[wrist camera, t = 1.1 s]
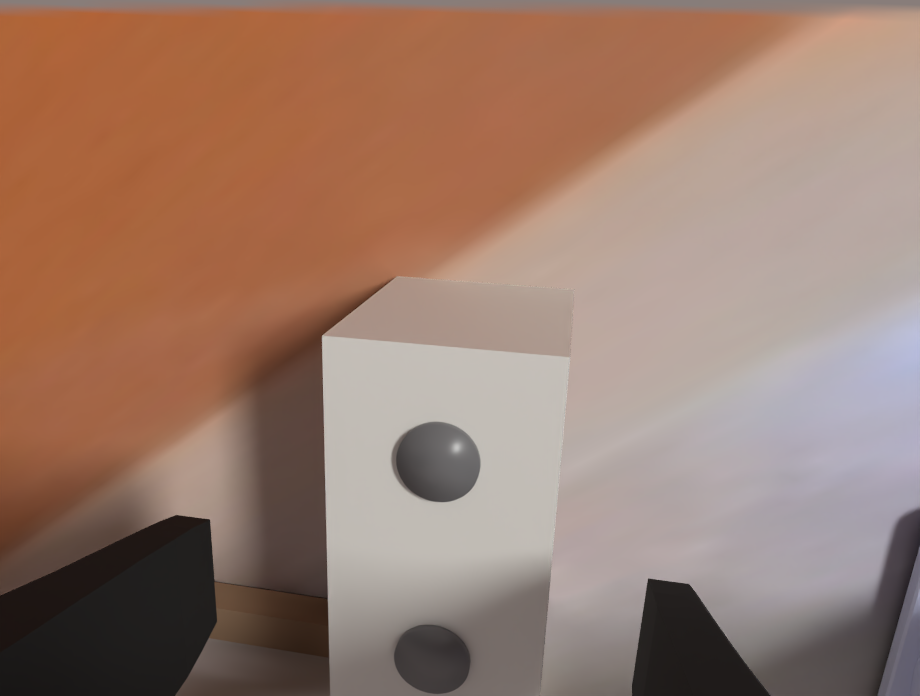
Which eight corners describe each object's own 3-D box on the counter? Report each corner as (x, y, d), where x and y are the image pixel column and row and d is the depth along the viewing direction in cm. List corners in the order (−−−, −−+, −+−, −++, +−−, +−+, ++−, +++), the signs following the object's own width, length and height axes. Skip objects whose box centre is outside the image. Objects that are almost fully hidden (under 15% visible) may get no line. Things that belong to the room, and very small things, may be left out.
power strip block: (575, 288, 16) (569, 360, 11) (547, 594, 18) (533, 766, 13) (398, 275, 16) (318, 338, 11) (395, 573, 19) (328, 730, 14)
